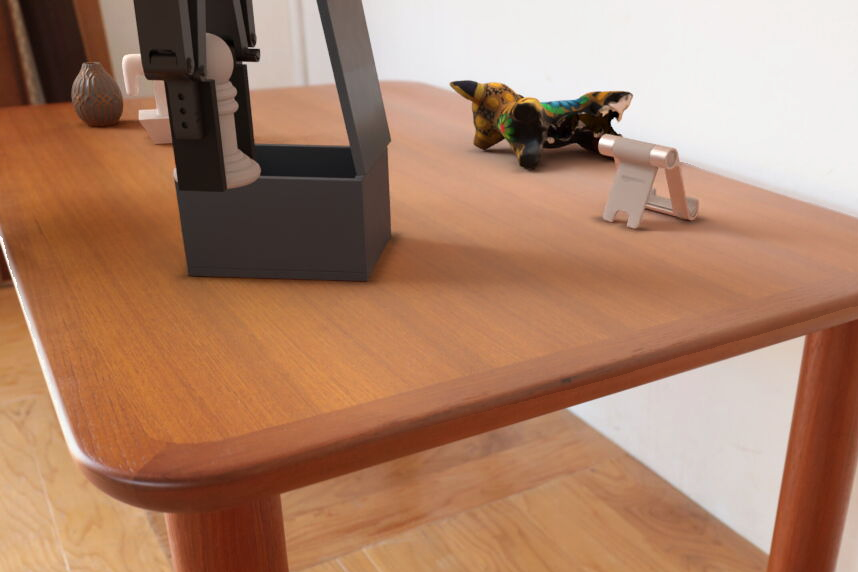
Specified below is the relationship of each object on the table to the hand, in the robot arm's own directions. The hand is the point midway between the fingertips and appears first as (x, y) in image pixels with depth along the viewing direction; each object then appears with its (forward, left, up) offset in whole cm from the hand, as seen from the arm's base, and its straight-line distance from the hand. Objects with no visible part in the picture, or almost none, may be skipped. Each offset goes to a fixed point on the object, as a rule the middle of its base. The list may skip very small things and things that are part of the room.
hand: (219, 176), depth 57 cm
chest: (+4, +22, -13) cm, 26 cm away
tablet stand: (+40, +27, -13) cm, 50 cm away
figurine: (-12, +74, -13) cm, 76 cm away
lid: (+10, +20, +4) cm, 23 cm away
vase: (-23, +87, -13) cm, 91 cm away
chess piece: (0, 0, 0) cm, 1 cm away
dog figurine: (+37, +57, -13) cm, 69 cm away
